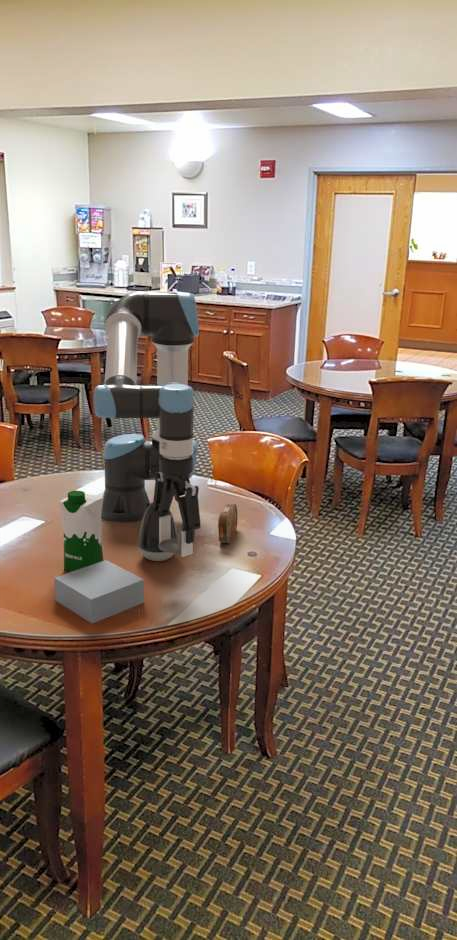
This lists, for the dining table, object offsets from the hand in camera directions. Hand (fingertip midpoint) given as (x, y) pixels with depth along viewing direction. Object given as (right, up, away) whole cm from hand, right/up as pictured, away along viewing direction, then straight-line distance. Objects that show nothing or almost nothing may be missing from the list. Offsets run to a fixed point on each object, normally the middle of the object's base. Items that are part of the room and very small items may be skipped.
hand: (175, 548), depth 168 cm
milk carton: (-23, -6, +11) cm, 27 cm away
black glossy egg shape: (-6, -5, +18) cm, 19 cm away
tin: (+12, -1, +32) cm, 34 cm away
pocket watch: (0, -1, 0) cm, 1 cm away
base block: (-17, -12, -6) cm, 21 cm away
